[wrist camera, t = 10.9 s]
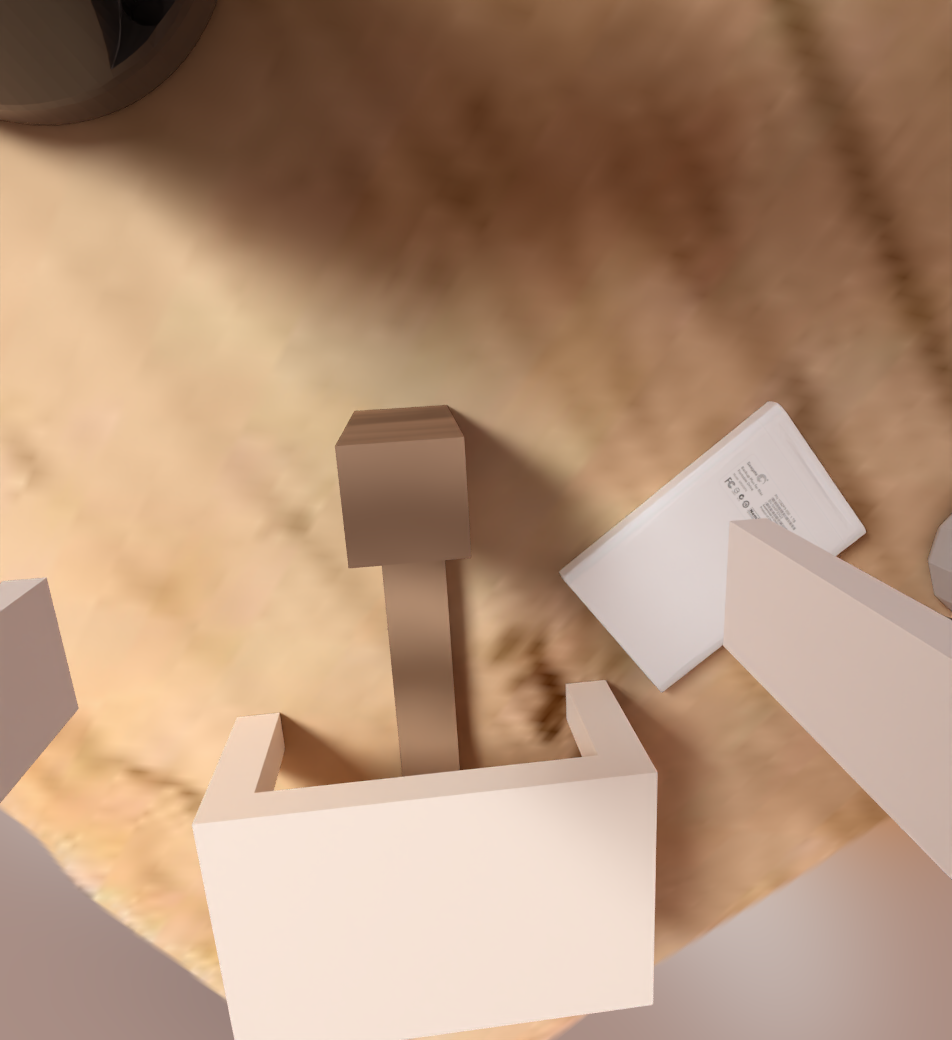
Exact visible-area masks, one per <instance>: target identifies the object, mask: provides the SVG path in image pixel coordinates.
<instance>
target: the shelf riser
mask: <svg viewBox="0 0 952 1040" xmlns="http://www.w3.org/2000/svg"><path fill="white" fill-rule="evenodd" d="M566 716H567V722H568V724H569V726H570V729H571V731H572V734H573V736H574V738H575V741H576V743H577V746H578V748H579V751H580V753H581V755H582V757H578V758H569V759H560V760H551V761H542V762H532V763H523V764H514V765H505V766H496V767H487V768H478V769H469V770H459V771H450V772H441V773H432V774H423V775H414V776H405V777H396V778H386V779H377V780H368V781H359V782H350V783H341V784H332V785H323V786H313V787H304V788H295V789H286V790H277V791H274V787H275V784H276V780H277V776H278V773H279V769H280V766H281V762H282V758H283V755H284V751H285V745H284V738H283V731H282V725H281V718H280V713H272V714H262V715H252V716H242V717H237V719H236V721H235V724H234V726H233V728H232V731H231V733H230V735H229V738H228V740H227V743H226V745H225V747H224V750H223V752H222V754H221V757H220V759H219V762H218V764H217V766H216V769H215V771H214V773H213V776H212V778H211V781H210V783H209V785H208V788H207V790H206V792H205V795H204V797H203V800H202V802H201V804H200V807H199V809H198V811H197V814H196V816H195V818H194V821H193V823H192V828H193V833H194V838H195V843H196V848H197V853H198V858H199V863H200V868H201V873H202V878H203V883H204V888H205V893H206V898H207V903H208V908H209V913H210V918H211V923H212V928H213V933H214V938H215V943H216V949H217V954H218V959H219V964H220V969H221V974H222V979H223V984H224V989H225V994H226V999H227V1004H228V1008H229V1014H230V1019H231V1024H232V1029H233V1034H234V1039H235V1040H405V1039H412V1038H419V1037H426V1036H433V1035H440V1034H448V1033H455V1032H462V1031H469V1030H476V1029H483V1028H490V1027H498V1026H505V1025H512V1024H519V1023H526V1022H533V1021H540V1020H547V1019H555V1018H562V1017H569V1016H576V1015H583V1014H590V1013H597V1012H604V1011H611V1010H619V1009H625V1008H633V1007H640V1006H647V1005H653V979H654V978H653V977H654V928H655V878H656V828H657V778H658V772H657V770H656V769H655V767H654V765H653V763H652V762H651V760H650V758H649V756H648V754H647V753H646V751H645V749H644V747H643V746H642V744H641V742H640V740H639V739H638V737H637V735H636V733H635V732H634V730H633V728H632V726H631V725H630V723H629V721H628V719H627V717H626V716H625V714H624V712H623V710H622V709H621V707H620V705H619V703H618V702H617V700H616V698H615V696H614V695H613V693H612V691H611V689H610V688H609V686H608V684H607V682H606V681H605V680H599V681H590V682H580V683H570V684H566Z"/></svg>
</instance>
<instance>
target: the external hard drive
mask: <svg viewBox="0 0 952 1040" xmlns="http://www.w3.org/2000/svg"><path fill="white" fill-rule="evenodd" d="M760 518H767V519H769V520H771V521H773V522H774V523H776V524H778V525H780V526H782V527H784V528H785V529H787V530H789V531H791V532H793V533H794V534H796V535H798V536H800V537H802V538H803V539H805V540H807V541H809V542H811V543H813V544H814V545H816V546H818V547H820V548H822V549H823V550H825V551H827V552H829V553H831V554H832V555H834V556H837V555H838V554H839V553H841V552H842V551H843V550H844V549H846V548H847V547H849V546H850V545H851V544H852V543H854V542H855V541H856V540H857V539H859V538H860V537H861V536H863V535H864V534H865V533H866V530H865V528H864V526H863V524H862V523H861V521H860V520H859V519H858V517H857V516H856V514H855V513H854V511H853V510H852V508H851V507H850V506H849V504H848V503H847V501H846V500H845V498H844V497H843V495H842V494H841V492H840V491H839V490H838V488H837V486H836V485H835V484H834V482H833V481H832V479H831V478H830V476H829V475H828V473H827V472H826V470H825V469H824V467H823V466H822V464H821V463H820V461H819V460H818V458H817V457H816V455H815V454H814V452H813V451H812V450H811V448H810V447H809V445H808V444H807V442H806V441H805V439H804V438H803V436H802V435H801V433H800V432H799V430H798V429H797V427H796V426H795V424H794V423H793V422H792V420H791V419H790V417H789V415H788V414H787V413H786V411H785V410H784V409H783V408H782V407H781V405H780V404H778V403H776V402H771V401H768V402H766V403H765V404H764V405H763V406H762V407H760V408H759V409H758V410H757V411H755V412H754V413H753V414H752V415H750V416H749V417H748V418H747V419H746V420H744V421H743V422H742V423H741V424H740V425H738V426H737V427H736V428H735V429H733V430H732V431H731V432H730V433H729V434H727V435H726V436H725V437H724V438H722V439H721V440H720V441H719V442H717V443H716V444H715V445H714V446H712V447H711V448H710V449H709V450H708V451H706V452H705V453H704V454H703V455H701V456H700V457H699V458H698V459H696V460H695V461H694V462H693V463H691V464H690V465H689V466H688V467H686V468H685V469H684V470H683V471H682V472H680V473H679V474H678V475H677V476H675V477H674V478H673V479H672V480H670V481H669V482H668V483H667V484H666V485H664V486H663V487H662V488H660V489H659V490H658V491H657V492H656V493H655V494H653V495H652V496H651V497H650V498H649V499H647V500H646V501H645V502H644V503H642V504H641V505H640V506H639V507H637V508H636V509H635V510H634V511H632V512H631V513H630V514H629V515H627V516H626V517H625V518H624V519H623V520H621V521H620V522H619V523H618V524H616V525H615V526H614V527H613V528H611V529H610V530H609V531H608V532H606V533H605V534H604V535H603V536H602V537H600V538H599V539H598V540H597V541H595V542H594V543H593V544H592V545H591V546H589V547H588V548H587V549H586V550H584V551H583V552H582V553H581V554H579V555H578V556H577V557H576V558H574V559H573V560H572V561H571V562H570V563H568V564H567V565H566V566H565V567H563V568H562V569H561V570H560V571H559V574H560V575H561V577H562V579H563V580H564V581H565V582H566V583H567V585H568V586H569V587H570V588H571V589H572V590H573V591H574V593H575V594H576V595H577V596H578V597H579V598H580V600H581V601H582V602H583V603H584V604H585V605H586V606H587V608H588V609H589V610H590V611H591V612H592V613H593V614H594V616H595V617H596V618H597V619H598V620H599V621H600V623H601V624H602V625H603V626H604V627H605V628H606V629H607V631H608V632H609V633H610V634H611V635H612V636H613V638H614V639H615V640H616V641H617V642H618V643H619V644H620V646H621V647H622V648H623V649H624V650H625V651H626V653H627V654H628V655H629V656H630V657H631V658H632V659H633V661H634V662H635V663H636V664H637V665H638V667H639V668H640V669H641V670H642V671H643V672H644V673H645V675H646V676H647V677H648V678H649V679H650V680H651V682H652V683H653V684H654V685H655V686H656V687H657V688H658V690H659V691H660V692H664V691H665V690H666V689H667V688H669V687H670V686H671V685H673V684H674V683H675V682H676V681H678V680H679V679H680V678H682V677H683V676H684V675H685V674H687V673H688V672H689V671H690V670H692V669H693V668H694V667H696V666H697V665H698V664H699V663H701V662H702V661H703V660H704V659H706V658H707V657H708V656H710V655H711V654H712V653H713V652H715V651H716V650H717V649H719V648H720V647H721V646H722V645H723V639H724V620H725V601H726V581H727V562H728V542H729V523H730V521H736V520H748V519H760Z"/></svg>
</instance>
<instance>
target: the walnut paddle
mask: <svg viewBox="0 0 952 1040" xmlns="http://www.w3.org/2000/svg"><path fill="white" fill-rule="evenodd" d="M335 450H336V459H337V468H338V477H339V486H340V495H341V504H342V513H343V522H344V531H345V540H346V549H347V558H348V567H349V568H359V567H370V566H382V572H383V582H384V593H385V603H386V613H387V623H388V634H389V644H390V654H391V665H392V675H393V685H394V695H395V706H396V716H397V726H398V737H399V747H400V757H401V767H402V777H405V776H414V775H423V774H432V773H441V772H450V771H459V770H460V765H459V751H458V737H457V723H456V709H455V695H454V680H453V666H452V652H451V638H450V624H449V610H448V596H447V582H446V567H445V560H453V559H465V558H471V542H470V525H469V508H468V492H467V475H466V458H465V441H464V436H463V434H462V432H461V430H460V428H459V426H458V425H457V423H456V421H455V419H454V417H453V415H452V414H451V412H450V410H449V408H448V406H447V405H440V406H425V407H410V408H395V409H380V410H365V411H354V413H353V415H352V417H351V418H350V420H349V422H348V424H347V426H346V427H345V429H344V431H343V433H342V435H341V436H340V438H339V440H338V442H337V444H336V445H335Z"/></svg>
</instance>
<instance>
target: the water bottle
mask: <svg viewBox="0 0 952 1040" xmlns="http://www.w3.org/2000/svg"><path fill="white" fill-rule="evenodd" d="M928 564H929V569H930V575H931V580H932V585H933V591H934V595H935V596H936V597H937V598H938V599H939V600H940V601H941V602H942V603H943V604H945V605H946V606H947V607H948V608H949V609H950V610H951V611H952V513H951V514H950V515H949V516H948V518H947V519H946V520H945V521H944V522H943V523H942V524H941V525H940V526H939V527H938V529H937V532H936V535H935V538H934V541H933V544H932V547H931V550H930V553H929V556H928Z"/></svg>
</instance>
